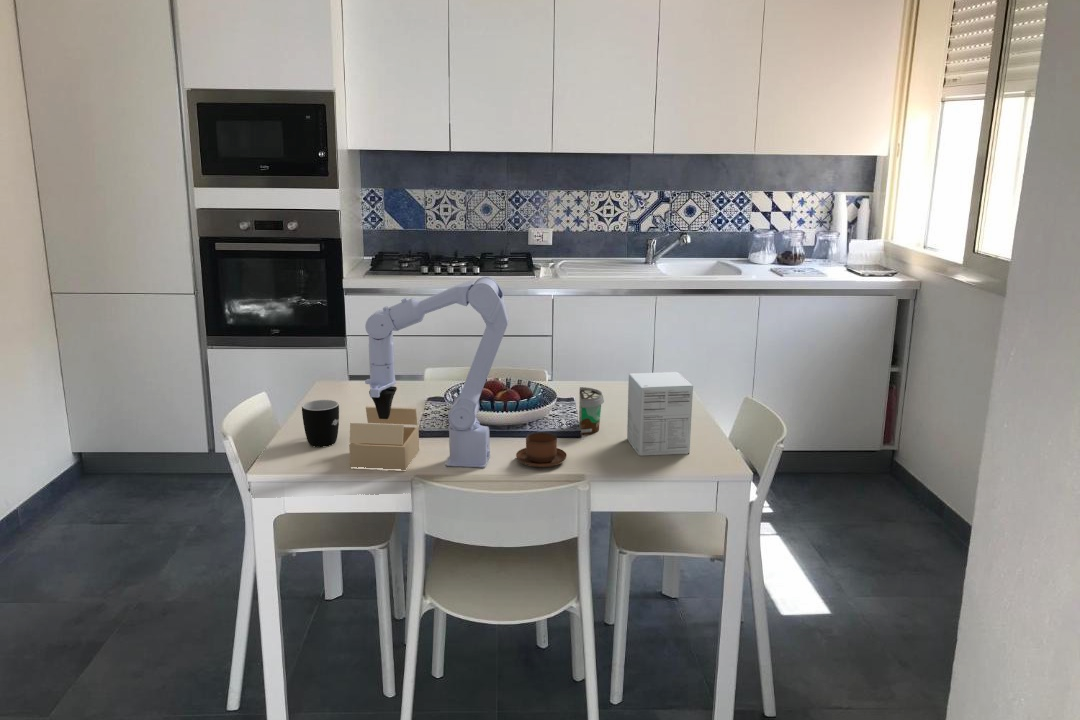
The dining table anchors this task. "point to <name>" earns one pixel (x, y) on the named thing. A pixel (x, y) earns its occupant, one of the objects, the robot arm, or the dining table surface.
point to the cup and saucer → (541, 451)
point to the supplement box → (659, 413)
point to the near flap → (376, 433)
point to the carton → (386, 452)
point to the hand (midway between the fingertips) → (384, 418)
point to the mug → (321, 422)
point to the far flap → (393, 416)
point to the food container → (590, 410)
